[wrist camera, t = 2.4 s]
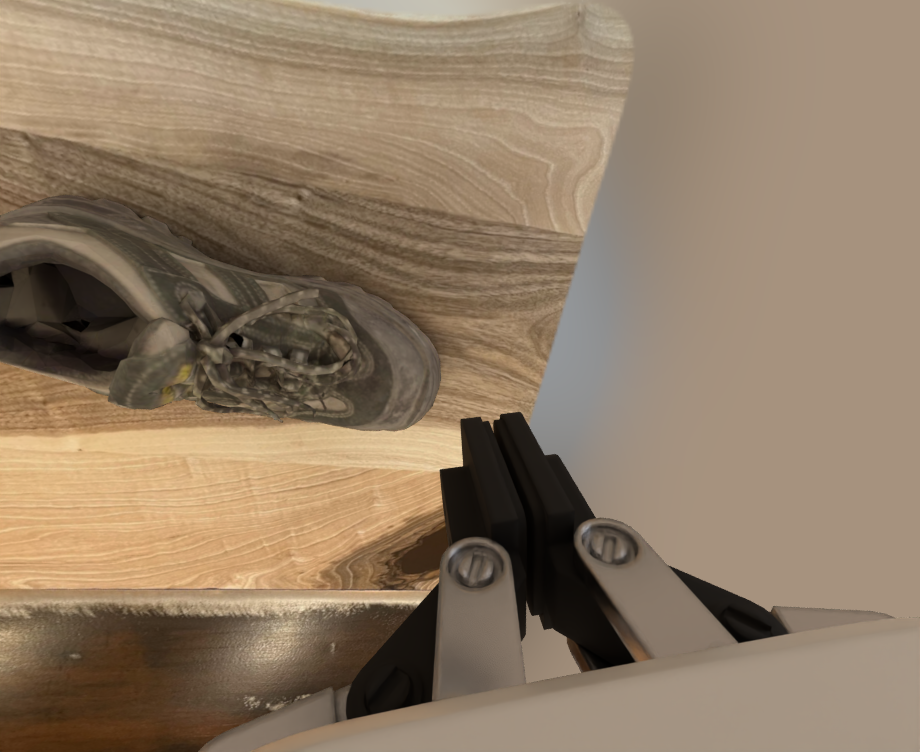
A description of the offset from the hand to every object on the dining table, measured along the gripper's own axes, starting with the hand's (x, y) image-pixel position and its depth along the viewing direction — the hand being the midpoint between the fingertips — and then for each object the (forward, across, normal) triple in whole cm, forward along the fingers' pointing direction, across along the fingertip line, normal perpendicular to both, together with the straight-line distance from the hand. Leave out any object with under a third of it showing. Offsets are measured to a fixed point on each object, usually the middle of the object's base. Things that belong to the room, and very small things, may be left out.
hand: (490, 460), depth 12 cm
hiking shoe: (+15, +10, -1) cm, 18 cm away
